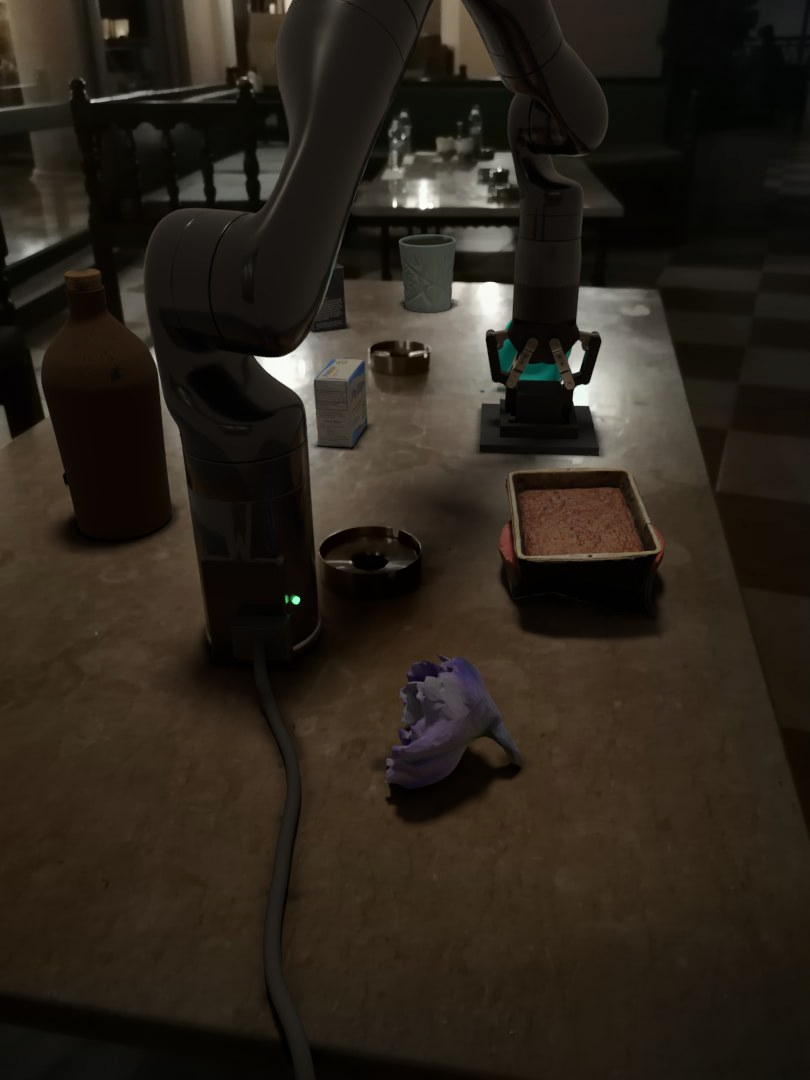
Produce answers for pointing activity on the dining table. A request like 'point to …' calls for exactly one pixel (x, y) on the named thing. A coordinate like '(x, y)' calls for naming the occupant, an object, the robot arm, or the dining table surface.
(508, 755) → the flower
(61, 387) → the olive oil
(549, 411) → the black square block
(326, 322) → the small box
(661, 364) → the dining table surface
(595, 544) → the baking dish
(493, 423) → the socket pad
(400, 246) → the grey green cup
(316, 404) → the medicine box
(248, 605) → the robot arm
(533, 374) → the donuts
